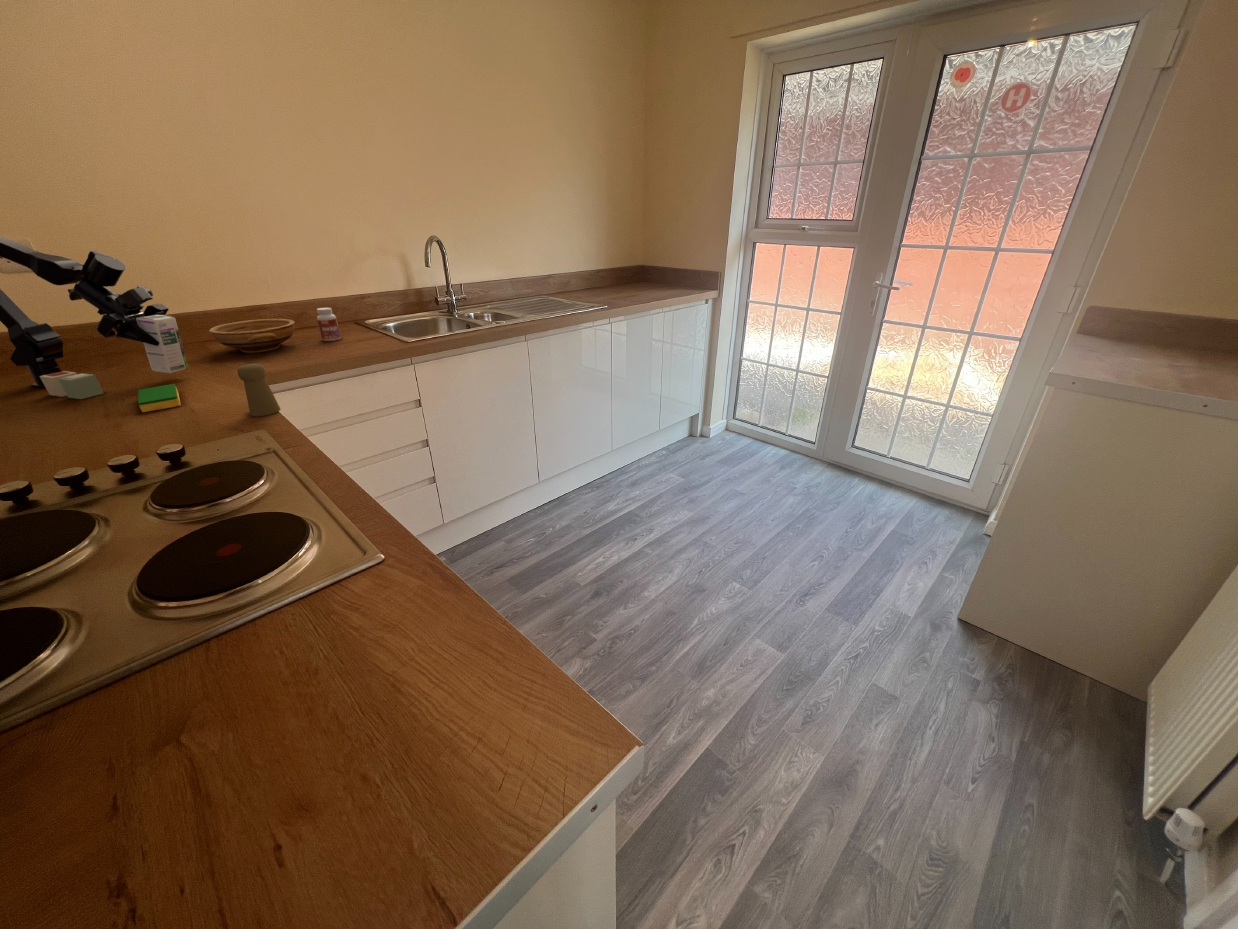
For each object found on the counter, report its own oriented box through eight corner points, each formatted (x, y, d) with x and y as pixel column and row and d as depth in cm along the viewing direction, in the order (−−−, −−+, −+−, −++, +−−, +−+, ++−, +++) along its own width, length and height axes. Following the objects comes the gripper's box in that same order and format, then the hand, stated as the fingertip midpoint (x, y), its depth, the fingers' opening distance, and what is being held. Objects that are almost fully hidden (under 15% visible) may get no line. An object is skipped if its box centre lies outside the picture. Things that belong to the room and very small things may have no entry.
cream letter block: (49, 395, 129) (39, 375, 127) (73, 389, 133) (63, 370, 131) (61, 396, 128) (51, 377, 125) (85, 390, 132) (75, 371, 130)
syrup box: (170, 374, 136) (155, 319, 130) (150, 370, 137) (135, 316, 131) (189, 369, 141) (176, 316, 135) (170, 366, 142) (156, 313, 136)
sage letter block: (67, 397, 127) (57, 378, 125) (91, 391, 131) (82, 372, 129) (80, 399, 125) (70, 379, 123) (104, 393, 130) (94, 374, 127)
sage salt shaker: (248, 418, 112) (230, 370, 107) (251, 409, 117) (235, 363, 112) (279, 413, 115) (263, 366, 110) (281, 405, 120) (266, 360, 115)
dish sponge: (178, 392, 130) (174, 383, 128) (181, 405, 120) (177, 396, 119) (142, 398, 125) (138, 389, 124) (142, 413, 116) (137, 403, 115)
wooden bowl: (311, 349, 170) (304, 325, 166) (225, 363, 155) (215, 337, 152) (289, 336, 189) (283, 315, 186) (211, 347, 175) (202, 324, 171)
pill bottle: (324, 342, 180) (315, 310, 175) (321, 339, 184) (312, 308, 180) (342, 339, 183) (334, 308, 178) (340, 337, 188) (332, 306, 183)
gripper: (87, 280, 120) (155, 326, 125) (146, 272, 136) (204, 313, 142) (68, 314, 123) (135, 358, 128) (128, 303, 139) (185, 342, 145)
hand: (167, 341), depth 136 cm, fingers closed on syrup box, 6 cm apart
